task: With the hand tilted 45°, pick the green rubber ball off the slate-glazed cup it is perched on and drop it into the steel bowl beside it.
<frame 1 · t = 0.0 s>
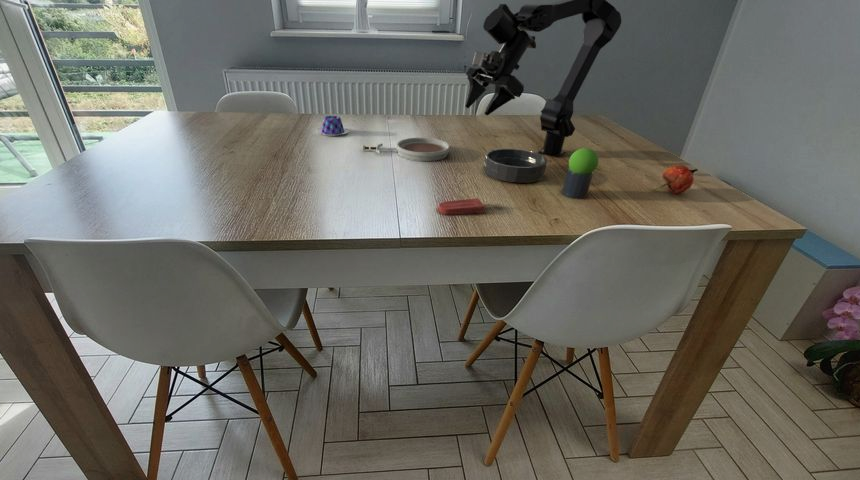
hand: (475, 110, 110), 15 cm above the table, tool tilted 35°, fingers open, 9 cm apart
frying pan: (405, 153, 128), on the table
popsicle: (469, 210, 93), on the table
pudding: (333, 133, 145), on the table
stand cup: (573, 194, 102), on the table
red rounded piece: (669, 193, 104), on the table
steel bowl: (512, 173, 113), on the table
ball: (583, 162, 97), point 8 cm above the table, touching stand cup
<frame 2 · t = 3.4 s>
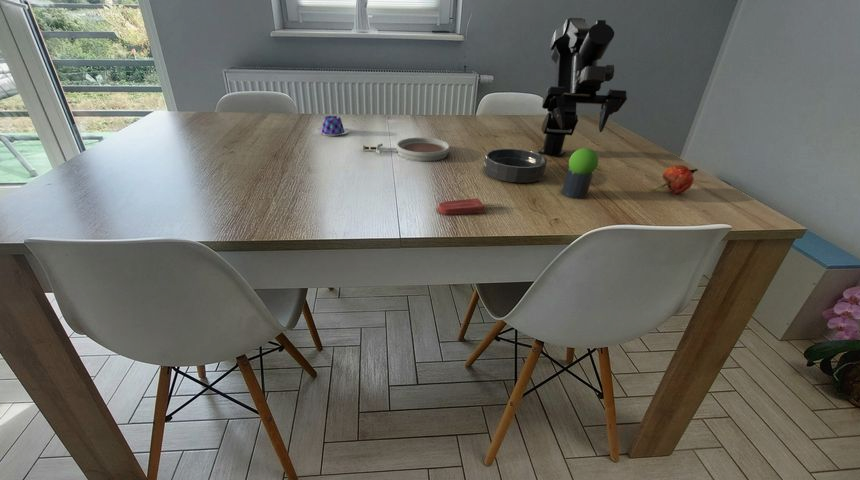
hand: (581, 130, 101), 14 cm above the table, tool tilted 45°, fingers open, 9 cm apart
nothing on the table moved.
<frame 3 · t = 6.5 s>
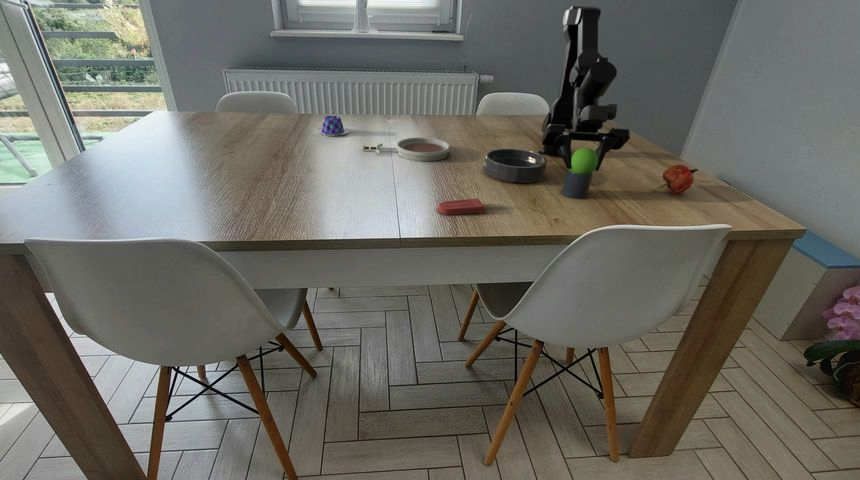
hand: (582, 169, 97), 7 cm above the table, tool tilted 45°, fingers closed on ball, 6 cm apart
ball: (583, 162, 97), point 8 cm above the table, touching gripper, stand cup
everything else where it was.
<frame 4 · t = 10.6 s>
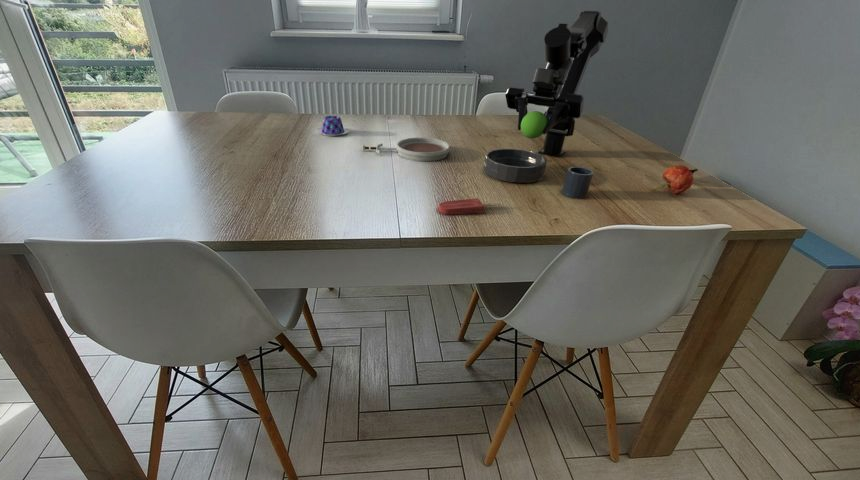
hand: (530, 131, 102), 13 cm above the table, tool tilted 45°, fingers closed on ball, 6 cm apart
ball: (533, 124, 103), point 14 cm above the table, touching gripper
everything else where it was.
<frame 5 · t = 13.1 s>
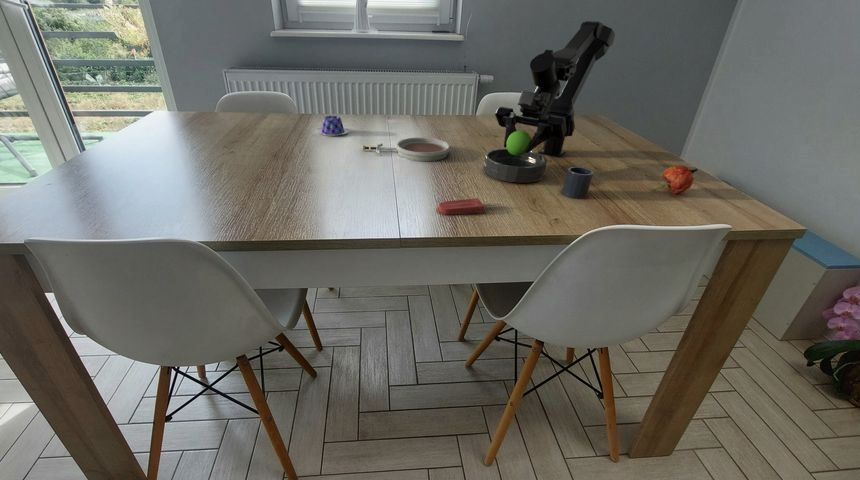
hand: (515, 149, 109), 7 cm above the table, tool tilted 45°, fingers closed on ball, 6 cm apart
ball: (518, 143, 109), point 8 cm above the table, touching gripper
everything else where it was.
when the fingers open (3 cm above the table, at t = 15.0 s): ball stays where it is, resting on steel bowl.
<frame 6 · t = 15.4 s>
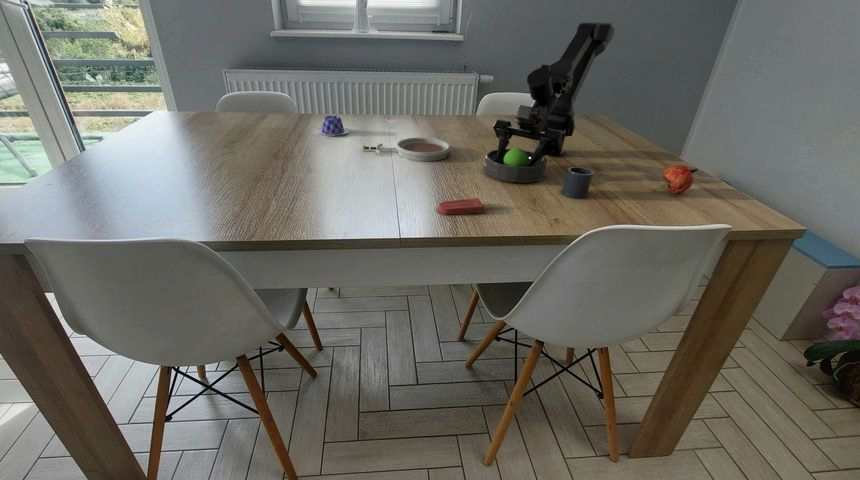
hand: (512, 161, 110), 4 cm above the table, tool tilted 45°, fingers open, 9 cm apart
ball: (515, 160, 111), point 4 cm above the table, touching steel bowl
everything else where it was.
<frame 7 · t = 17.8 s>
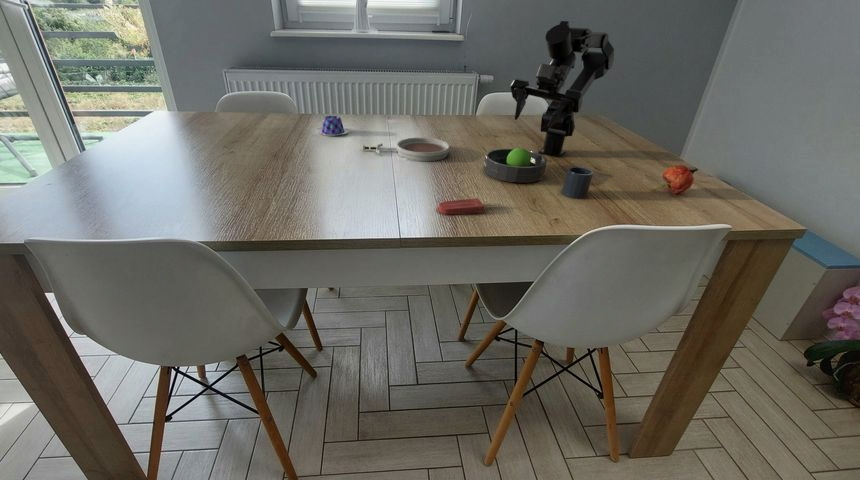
hand: (531, 123, 110), 13 cm above the table, tool tilted 45°, fingers open, 9 cm apart
ball: (518, 160, 112), point 4 cm above the table, tilted 19°, touching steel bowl
everything else where it was.
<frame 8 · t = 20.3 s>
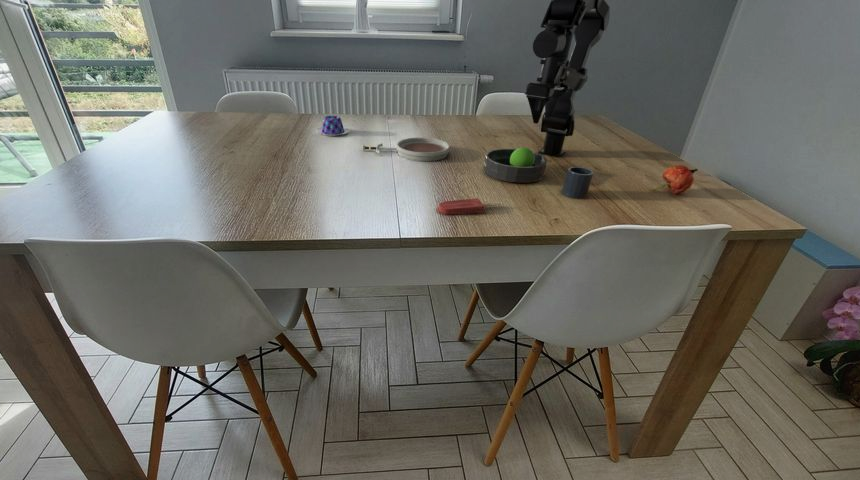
hand: (541, 120, 111), 13 cm above the table, tool pointing down, fingers open, 9 cm apart
ball: (521, 159, 112), point 4 cm above the table, tilted 38°, touching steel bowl
everything else where it was.
at the end: ball inside the target area in the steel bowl (2.1 cm from its centre), point 3.7 cm above the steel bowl's base; ball touching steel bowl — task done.
